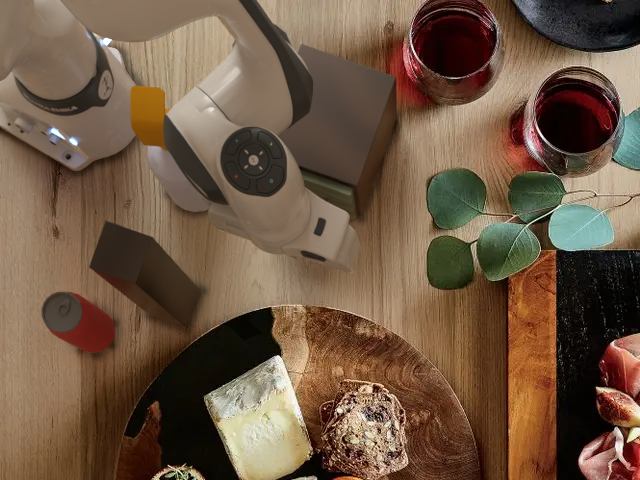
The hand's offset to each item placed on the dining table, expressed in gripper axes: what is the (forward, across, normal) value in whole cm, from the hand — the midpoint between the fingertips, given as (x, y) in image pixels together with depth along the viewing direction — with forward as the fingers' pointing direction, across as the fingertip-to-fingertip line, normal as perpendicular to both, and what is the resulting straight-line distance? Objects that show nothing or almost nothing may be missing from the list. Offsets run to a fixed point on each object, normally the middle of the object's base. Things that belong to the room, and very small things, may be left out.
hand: (291, 251), depth 116 cm
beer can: (+6, -25, -19) cm, 32 cm away
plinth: (+6, -15, -11) cm, 20 cm away
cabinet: (+6, 0, +18) cm, 19 cm away
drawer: (+5, 0, +13) cm, 14 cm away
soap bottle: (+6, -18, +7) cm, 20 cm away
